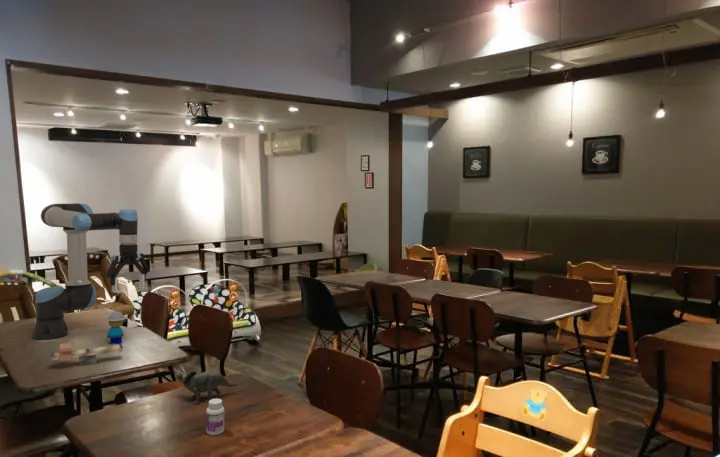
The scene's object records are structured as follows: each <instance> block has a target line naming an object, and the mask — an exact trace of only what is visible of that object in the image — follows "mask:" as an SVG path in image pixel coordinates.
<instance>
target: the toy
mask: <svg viewBox="0 0 720 457" xmlns="http://www.w3.org/2000/svg"><path fill="white" fill-rule="evenodd" d="M105 320H106V321H107V322H108V325H109V326H110V328H109V329H108V331H107V335H106V338H109V339H110V344H114V345H119V344H122V341H123V340H122V338H123V337H124V330H123V329H122V327H124V328H128V324H129V322H128V321H129V319H128V318H127V317H126V316H124V314H123V313H122V312H121V311H118V310H116V311H113V312H111V313H110V314H109V316H108V317H107V318H106V319H105Z"/></svg>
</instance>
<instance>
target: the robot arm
mask: <svg viewBox="0 0 720 457" xmlns="http://www.w3.org/2000/svg"><path fill="white" fill-rule="evenodd" d="M118 211H119V212H115V211H114V212H102V213H94V212H93V210H92V208H91V206H89V204H86V203H78V202H77V203H53V204H48V205H47V206H45V207H44V208H43V209H42V211H41V213H40V219H41V221H42V223H43V224H44V225H46V226H48V227H53V228H62V229H63V230H62V231H63V232H64V233H66V245H67V246H66V247H67V248H66V249H67V274H68V276H67V278H68V279H67V280H68V281H67V282H65V284H64V285H65V286H64V287H63V286H60V285H59V286H57V285H55V286H49V287H45V288H44V287H43V288H42V289H40V290H38V291H36V293H35V301H34V302H35V324H34V326H33V329H32V333H31V334H32V335H31V337H32V339H34V340H38V341H39V340H43V341H44V340H53V339H58V338H63V337H65V336H68V335H69V328H68V325H67V323H66V321H65V317H64V316H65V315H64V314H65V313H68V312H75V311H79V310H82V311H83V310H87V309H89V308H92V307H93V306H94V305H95V303H96V302H97V301H96V300H97V296H98V295H97V290H96V287H95V286H94V284H92V282H91V281H90V280H89V279H88V255H87V253H88V252H87V249H88V248H87V233H88V231H105V230H107V231H108V230H111V231H112V230H118V231H119V232H118V235H119V236H118V238H119V239H118V243H119V246H118V249H119V251H118V252H119V255H113V256H112V261H111V263H110V266H109V267H108V270H107V272H106V275H105V277H106V278H109V279H110V282H109V283H110V286H111V293H114V294H117V293H118V278H117V276H118V275H119V273H120V271H121V270H122V269H123V267H125V266H126V265H127V266H128V265H133V266H134V267H135V268H136V269H137V270H138V271H139V274H138V276H139V277H138V278H139V279H138V280H139V286H138V287H139V289H145V281H146V280H147V278H146V276H147V275H148V273H150V271H151V270H150V268H149V266H148V264H147V262H146V260H145V256H144V254H145V253H142V252H139V253H138V251H139V250H138V245H139V244H138V226H139V225H138V219H139V218H138V211H137V210H136V209H120V210H118ZM138 260H139V261H138Z"/></svg>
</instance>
